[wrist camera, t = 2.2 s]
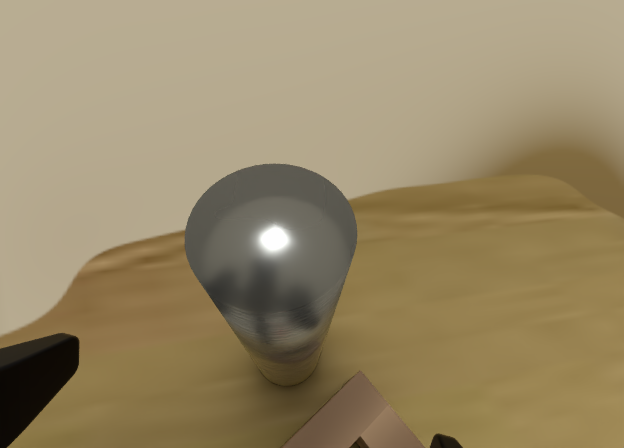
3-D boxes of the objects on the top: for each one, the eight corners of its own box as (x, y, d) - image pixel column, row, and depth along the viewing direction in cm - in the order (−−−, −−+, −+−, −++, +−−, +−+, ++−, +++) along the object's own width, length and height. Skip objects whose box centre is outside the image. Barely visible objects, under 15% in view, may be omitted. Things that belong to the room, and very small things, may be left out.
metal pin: (332, 355, 17) (392, 238, 6) (281, 401, 16) (249, 354, 5) (293, 307, 19) (287, 142, 8) (243, 346, 17) (153, 214, 6)
